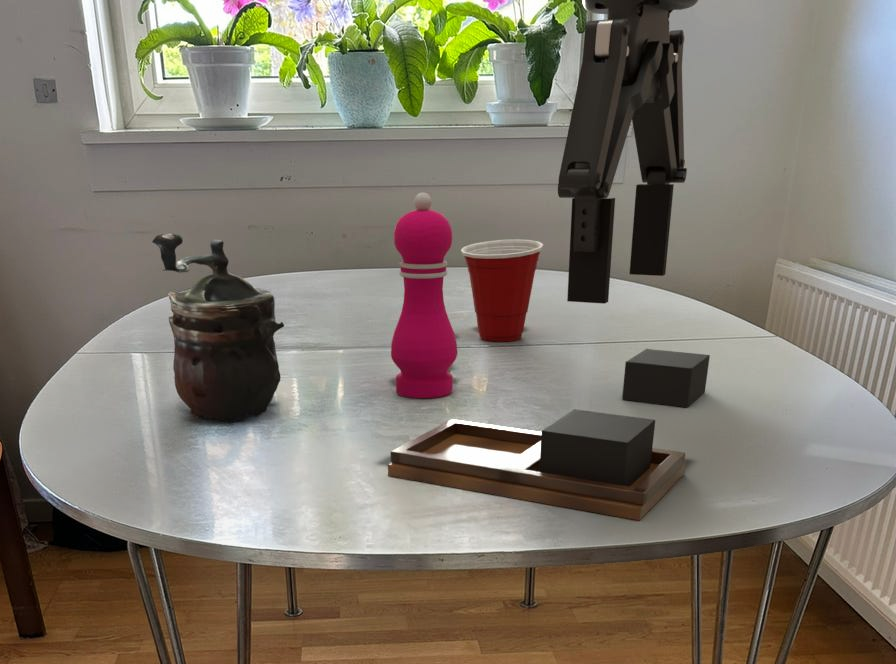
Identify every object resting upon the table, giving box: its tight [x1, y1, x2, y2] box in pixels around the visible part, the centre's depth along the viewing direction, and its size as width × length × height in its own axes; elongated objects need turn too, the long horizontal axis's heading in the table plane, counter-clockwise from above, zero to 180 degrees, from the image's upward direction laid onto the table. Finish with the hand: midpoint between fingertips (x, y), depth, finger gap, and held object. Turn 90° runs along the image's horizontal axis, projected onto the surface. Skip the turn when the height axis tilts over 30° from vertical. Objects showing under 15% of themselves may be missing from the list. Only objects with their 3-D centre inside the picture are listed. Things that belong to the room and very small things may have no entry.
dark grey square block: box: [621, 348, 711, 408], centre depth 101 cm, size 7×7×4 cm
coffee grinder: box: [152, 233, 285, 424], centre depth 93 cm, size 13×15×18 cm
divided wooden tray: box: [387, 418, 687, 521], centre depth 80 cm, size 22×12×2 cm, turn 60°
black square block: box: [540, 408, 656, 487], centre depth 76 cm, size 7×7×4 cm
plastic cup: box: [460, 239, 544, 342], centre depth 127 cm, size 11×11×12 cm
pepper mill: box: [390, 192, 458, 399], centre depth 100 cm, size 7×7×20 cm
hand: (619, 287), depth 71 cm, fingers open, 13 cm apart
